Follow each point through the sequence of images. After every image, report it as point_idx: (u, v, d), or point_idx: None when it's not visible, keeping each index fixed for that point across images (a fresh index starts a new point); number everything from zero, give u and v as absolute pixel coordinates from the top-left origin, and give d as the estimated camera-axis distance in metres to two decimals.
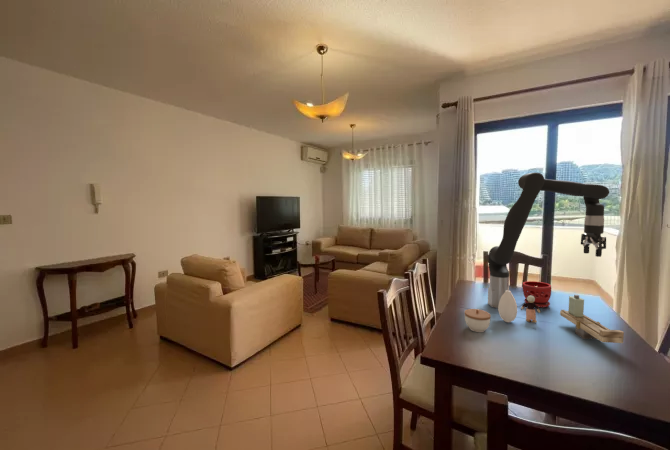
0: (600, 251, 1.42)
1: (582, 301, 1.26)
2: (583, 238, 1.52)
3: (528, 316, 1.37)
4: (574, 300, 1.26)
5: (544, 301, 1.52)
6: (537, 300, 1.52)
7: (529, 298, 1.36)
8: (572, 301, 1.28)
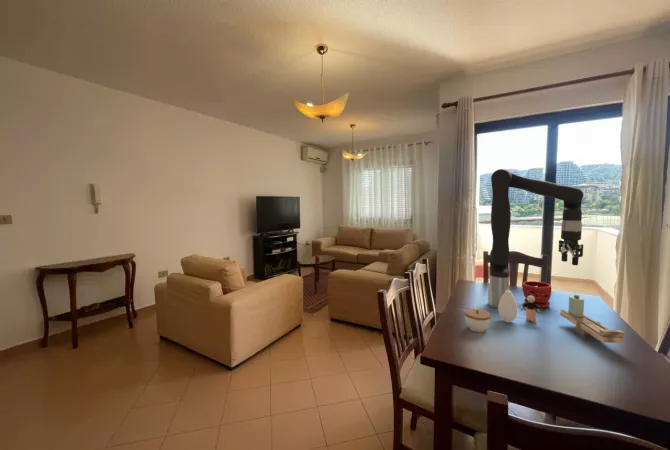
0: (577, 259, 1.32)
1: (582, 301, 1.26)
2: (561, 245, 1.42)
3: (528, 316, 1.37)
4: (574, 300, 1.26)
5: (544, 301, 1.52)
6: (537, 300, 1.52)
7: (529, 298, 1.36)
8: (572, 301, 1.28)
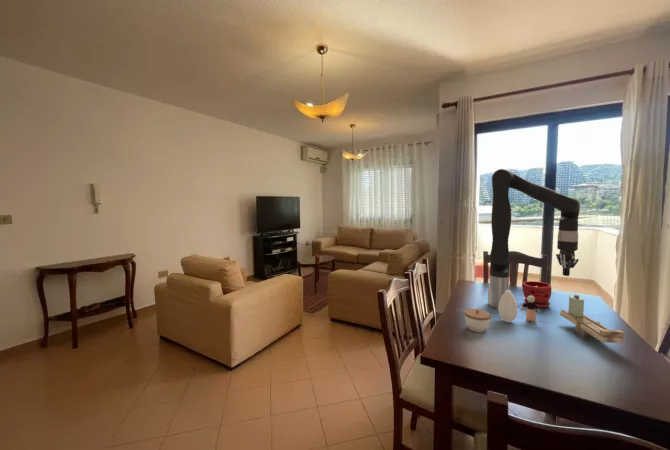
0: (568, 270, 1.33)
1: (582, 301, 1.26)
2: (559, 258, 1.38)
3: (528, 316, 1.37)
4: (574, 300, 1.26)
5: (544, 301, 1.52)
6: (537, 300, 1.52)
7: (529, 298, 1.36)
8: (572, 301, 1.28)
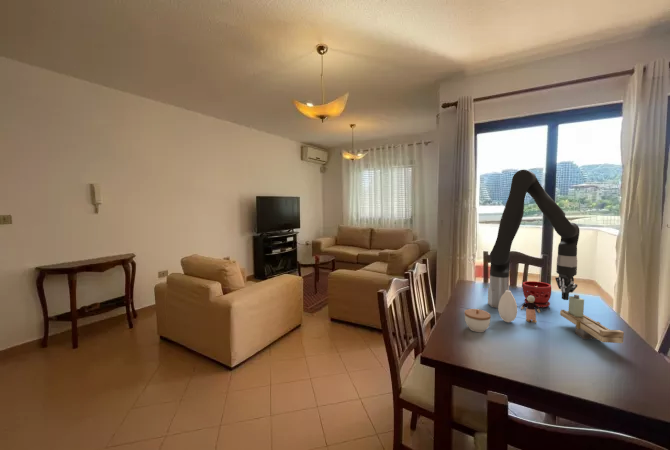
0: (567, 294, 1.34)
1: (582, 301, 1.26)
2: (558, 281, 1.39)
3: (528, 316, 1.37)
4: (574, 300, 1.26)
5: (544, 301, 1.52)
6: (537, 300, 1.52)
7: (529, 298, 1.36)
8: (572, 301, 1.28)
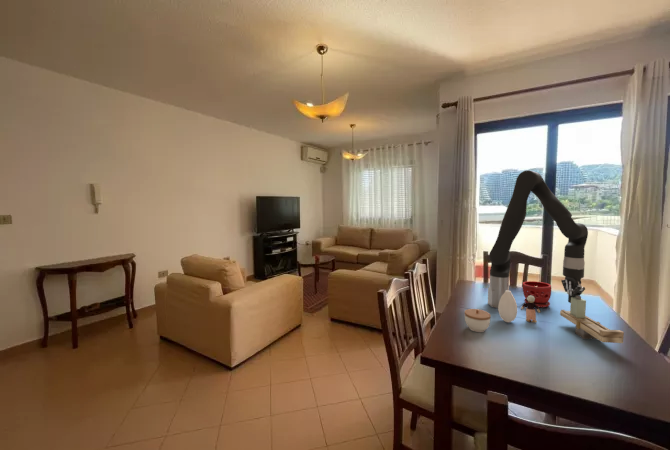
0: None
1: (584, 302, 1.24)
2: (565, 284, 1.35)
3: (528, 316, 1.37)
4: (576, 301, 1.25)
5: (544, 301, 1.52)
6: (537, 300, 1.52)
7: (529, 298, 1.36)
8: (574, 302, 1.27)
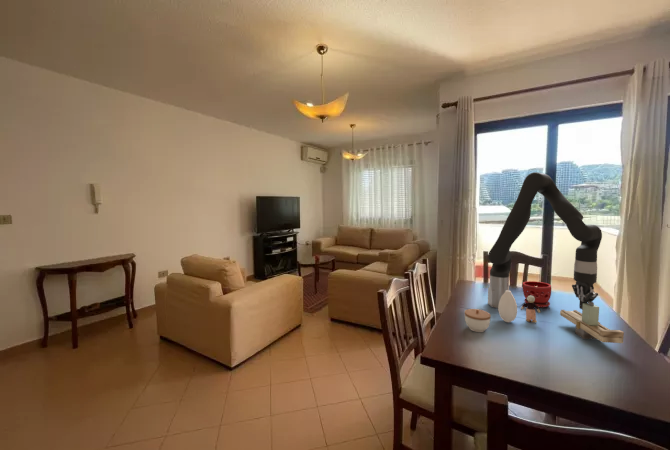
0: None
1: (597, 308, 1.17)
2: (576, 289, 1.27)
3: (528, 316, 1.37)
4: (588, 308, 1.18)
5: (544, 301, 1.52)
6: (537, 300, 1.52)
7: (529, 298, 1.36)
8: (586, 309, 1.19)
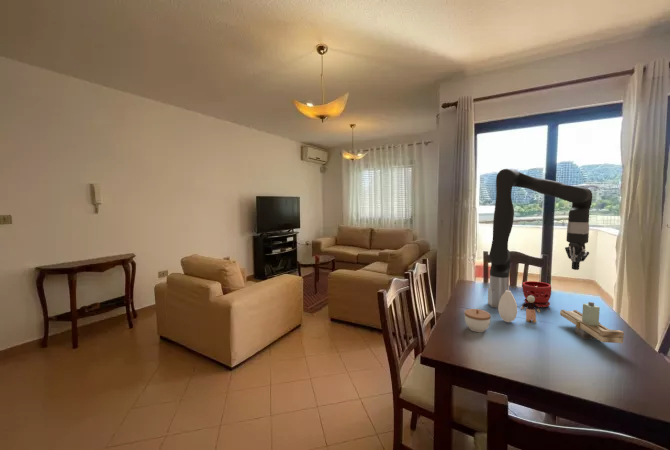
0: (578, 264, 1.27)
1: (597, 308, 1.17)
2: (568, 251, 1.32)
3: (528, 316, 1.37)
4: (589, 308, 1.18)
5: (544, 301, 1.52)
6: (537, 300, 1.52)
7: (529, 298, 1.36)
8: (586, 309, 1.19)
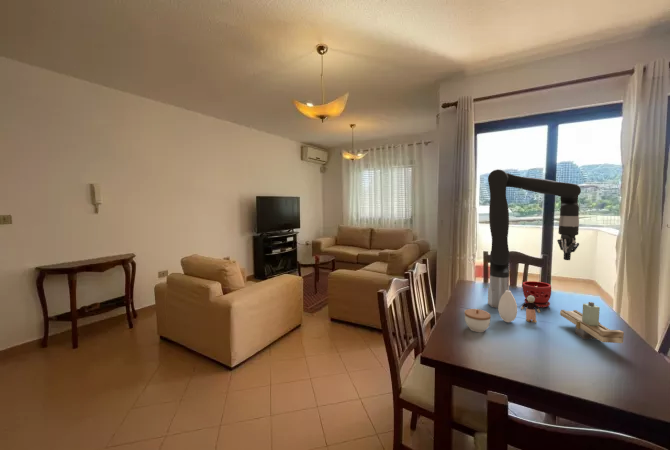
0: (569, 254, 1.37)
1: (597, 308, 1.17)
2: (560, 243, 1.42)
3: (528, 316, 1.37)
4: (589, 308, 1.18)
5: (544, 301, 1.52)
6: (537, 300, 1.52)
7: (529, 298, 1.36)
8: (586, 309, 1.19)
